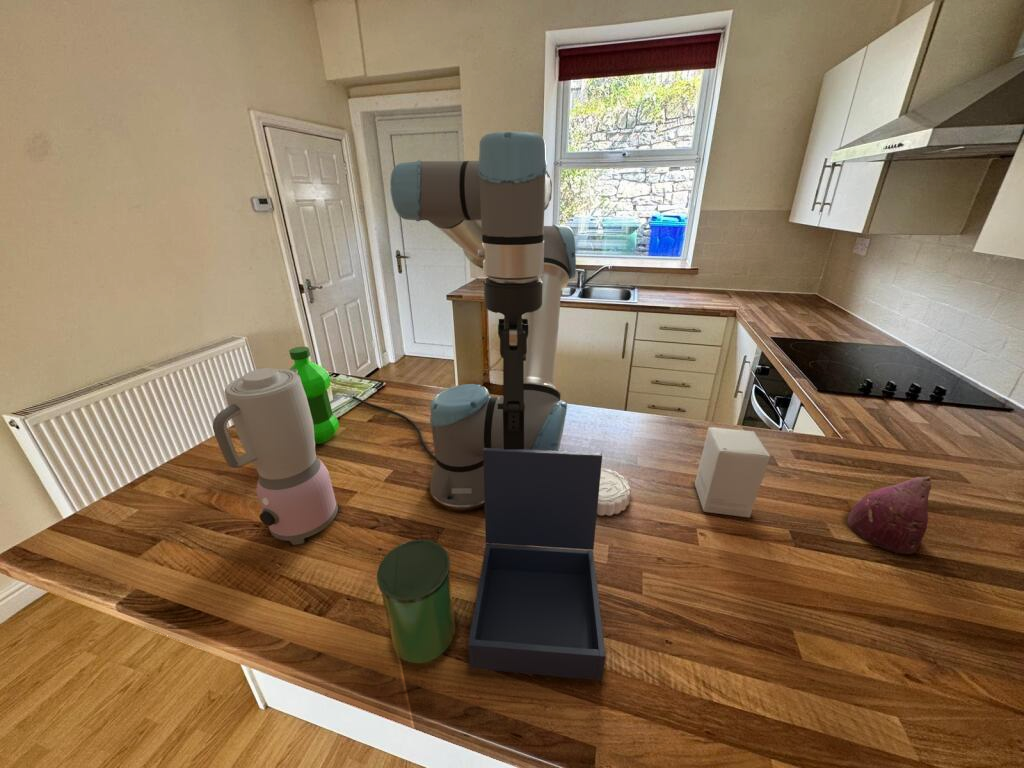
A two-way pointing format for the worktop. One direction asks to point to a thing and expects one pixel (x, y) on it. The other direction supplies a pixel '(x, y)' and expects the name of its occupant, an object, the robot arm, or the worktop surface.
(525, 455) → the chest lid
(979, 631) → the worktop surface
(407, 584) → the green pot
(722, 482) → the rectangular carton
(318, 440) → the plastic bottle
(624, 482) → the mooncake
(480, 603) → the chest
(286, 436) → the blender
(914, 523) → the vegetable
